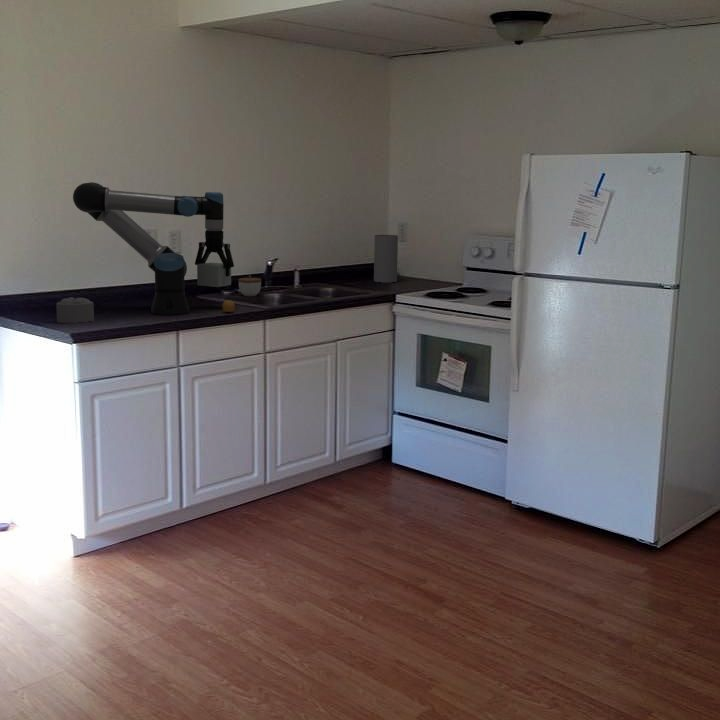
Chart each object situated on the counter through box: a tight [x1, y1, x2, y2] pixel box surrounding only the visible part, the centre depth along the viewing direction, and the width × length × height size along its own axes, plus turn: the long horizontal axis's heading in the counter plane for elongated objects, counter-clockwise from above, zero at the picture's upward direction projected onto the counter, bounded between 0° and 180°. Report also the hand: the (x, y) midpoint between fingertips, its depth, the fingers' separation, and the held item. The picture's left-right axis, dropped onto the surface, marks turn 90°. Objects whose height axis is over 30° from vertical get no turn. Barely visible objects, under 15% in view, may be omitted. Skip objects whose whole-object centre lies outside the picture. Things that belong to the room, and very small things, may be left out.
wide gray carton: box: [196, 262, 232, 288], centre depth 377 cm, size 10×10×9 cm
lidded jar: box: [237, 274, 262, 297], centre depth 422 cm, size 11×11×9 cm
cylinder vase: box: [373, 234, 399, 284], centre depth 486 cm, size 12×12×25 cm
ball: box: [221, 299, 236, 313], centre depth 367 cm, size 5×5×5 cm
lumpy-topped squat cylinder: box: [55, 296, 95, 324], centre depth 339 cm, size 10×13×9 cm
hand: (214, 283), depth 378 cm, fingers closed on wide gray carton, 10 cm apart
